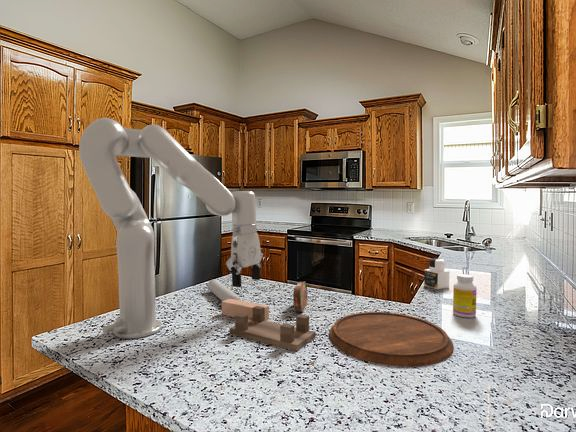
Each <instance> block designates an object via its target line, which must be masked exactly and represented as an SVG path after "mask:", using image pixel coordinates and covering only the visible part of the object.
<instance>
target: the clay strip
mask: <svg viewBox="0 0 576 432" xmlns="http://www.w3.org/2000/svg"><path fill="white" fill-rule="evenodd" d="M255 306H260V307H265V321H269V320H270V306H269V305H266V304H261V303H255V302H249V301H245V300H240V299H239V300H235V299H227V300H225V301H222V300H221V315H224V316H228V317H233V318H235V315H237V314H239V313H241V314H245V315H248V319H249V318H253V307H255Z"/></svg>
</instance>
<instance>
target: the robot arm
mask: <svg viewBox="0 0 576 432" xmlns="http://www.w3.org/2000/svg"><path fill="white" fill-rule="evenodd" d="M78 147H79V148H78V153H79V158H80V162H81V164H82V168H83V170H84V172H85V175H86V177H87V179H88V181H89V183H90V185H91V187H92V189H93V191H94V193H95V195H96V197H97V200H98V203H99V204H100V207H101V209H102V211H103V212H104V214H105V215H106V216H108V217H109V218H110V219H111V221H112V223H113V226H114V227H115V229H116V232H117V234H116V241H115V242H116V243H115V244H116V256H117V257H116V258H117V269H118V270H117V273H118V275H117V276H118V296H119V297H118V298H119V300H118V301H119V317H116V318H115V321H114V322H113V323H112V324H108V325H105V326H104V325H103V326H102V329H101V330H102V333H103V334H104V335H105V334H109V333H111V332H112V333H113V334H114V336H115V337H117V338H120V339H138V338H144V337H148V336H151V335H154V334H156V333H157V332H159V331H160V330H161V329H162V326H163V325H162V322H161V321H160V320H158V319H157V314H156V313H157V312H156V311H157V309H156V305H157V304H156V275H155V272H156V270H155V232H154V228H153V226H152V224H151V222H150V220H149V218H148V215H147V213H146V211H145V209H144V208H143V205H142V203H141V200H140V199H139V197H138V196H137V193H136V192H135V191H134V190H132V188H131V187H130V185H129V183H128V181H127V179H126V177H125V175H124V173H123V170H122V168H121V166H120V164H119V162H118V159H117V157H118V156H119V157H120V156H121V157H132V158H133V157H135V158H146V159H148V158H150V159H152V160H153V161H154V162H155V163H156V164H158V165H159V166H160V167H161V168H162V170H164V171H165V172H166V173H167V174H168V175H169V176H170V177H171V178H172V179H173V180H175V181H176V182H177V183H178V184H180V185H182V186H183V187H185V188H186V189H188V190H189V191H190V192H192V193H193V194H194V195H195V196H196V197H197V198H199V199H200V200H201V201H202V203H204V204H205V207H206V210H207V211H208V212H209V213H210V214H211V215H215V216H219V217H227V216H229V215H231V221H232V223H231V224H232V226H231V227H232V229H231V230H232V237H231V242H230V243H231V244H230V247H231V248H230V257H229V259H227V261H226V262H225V265H226V267H227V269H228V271H229V272H230V273H229V274H230V275H231V284H232V287H235V288H242V274H241V271H242V268H248V267H251V266H252V267H251V269H250V270H251V280H255V281H260V280H261V267H262V265H261V264H262V262H263V255H264V253H263V252H262V250H261V243H260V237H259V233H258V232H257V213H256V212H257V210H256V207H257V206H256V194H255V192H253V191H251V190H241V191H238V190H237V191H233V192H231V191H230V190H229V189H228V188H227V187H226V186H224V184H223V183H222V182H220V180H219V179H218V178H217V177H215V175H213V173H211V172H210V171H209V170H207V169H206V168H205V167H204V166H203V165H202V164H201V163H200V162H198V160H196V159H195V158H194V156H192V155H191V154H190V153H189V152H188V151H187V150H186V149H185V148H184V147H183V146H182V145H181V144H180V143H179V142H178V141H177V140H176V139H175V138H174V137H173V136H172V135H171V134H170V133H169V132H168V131H167V130H166V129H165V128H163V127H162V126H161V125H158V124H149V125H147V126H144V127H143V128H141V129H137V128H129V127H128V128H127V127H123V126H122V124H120V122H118V121H117V120H114V119H113V118H110V117H101V118H97V119H95V120H94V121H92V122H91V123H90V124H89V125H88V126H87V127H86V128H85V129H84V131H83V132H82V134H81V136H80V139H79V146H78Z"/></svg>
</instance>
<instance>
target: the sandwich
mask: <svg viewBox="0 0 576 432" xmlns="http://www.w3.org/2000/svg"><path fill="white" fill-rule="evenodd" d="M292 294H293V295H292V297H293V308H294V311H295V312H299V313H300V312H301V313H303V312H304V311H305V309H306V307H307V305H308V285H307V281H298V282H297V284H296V285H295V287H294V288H293V292H292Z"/></svg>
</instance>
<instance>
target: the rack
mask: <svg viewBox="0 0 576 432" xmlns="http://www.w3.org/2000/svg"><path fill="white" fill-rule="evenodd" d="M229 334H231V335H234V336H239V337H242V338H244V339H245V338H246V339H249V340H254V341H257V342H261V343H265V344H269V345H272V346H276V347H280V348H284V349H287V350H290V351H291V350H292V351H294V352H298V351H299V350H301V349H302V348H304V347H305V346H306V345H307V344H309V343H310V342H311V341H313V340H314V339H315V338H316V337H317V336H316V331H314V330H310V315H304V314H301V313H300V314H298V315H296V316H295V325H294V324H290V323H286V322H285V323H284V322H283V323H278V322H273V321H269V320H267V321H265V307H260V306H255V307H253V318H249V319H248V315H245V314H241V313H239V314H237V315H235V317H234V325H233V326H231V327H229Z"/></svg>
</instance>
